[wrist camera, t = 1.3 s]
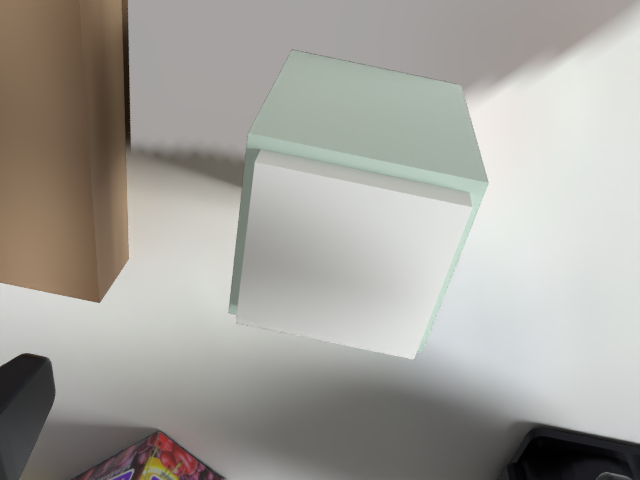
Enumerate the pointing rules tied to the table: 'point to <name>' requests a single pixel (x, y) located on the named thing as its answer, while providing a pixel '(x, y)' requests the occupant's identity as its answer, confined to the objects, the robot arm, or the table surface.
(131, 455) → the snack box
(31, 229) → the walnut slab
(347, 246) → the sage box
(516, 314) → the table surface
